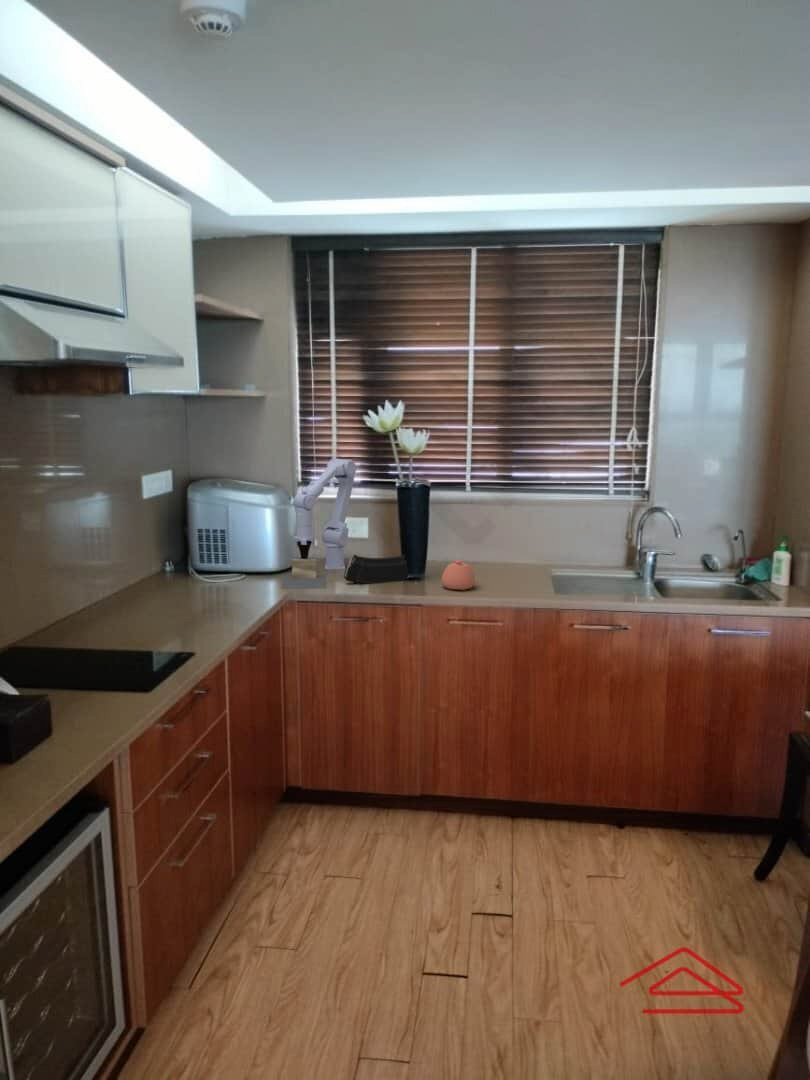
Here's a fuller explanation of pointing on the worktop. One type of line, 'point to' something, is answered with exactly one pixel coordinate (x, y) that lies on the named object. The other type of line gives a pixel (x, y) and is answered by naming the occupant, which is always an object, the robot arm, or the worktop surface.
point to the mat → (303, 582)
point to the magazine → (376, 569)
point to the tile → (303, 568)
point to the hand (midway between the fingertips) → (304, 560)
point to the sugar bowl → (458, 576)
